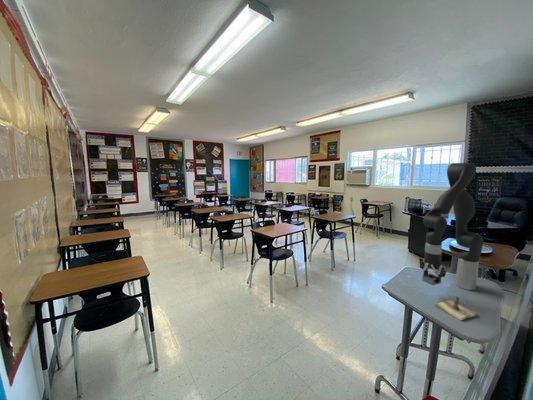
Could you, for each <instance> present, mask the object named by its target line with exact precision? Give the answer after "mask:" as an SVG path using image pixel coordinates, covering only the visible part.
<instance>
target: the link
mask: <svg viewBox="0 0 533 400" xmlns="http://www.w3.org/2000/svg"><path fill="white" fill-rule="evenodd" d="M421 279H422V282H425V283H427V284H429V285H431V286H436V285H439V284H442V280H441V281H440V282H439V283H436V274H433V273H428V274H426V275H423V274H422V278H421Z"/></svg>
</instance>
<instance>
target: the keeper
mask: <svg viewBox="0 0 533 400" xmlns="http://www.w3.org/2000/svg"><path fill="white" fill-rule="evenodd" d="M459 301H460V297H459V296H455V295H454V299H449V300H448V299H447V300H445V301H442V302H437V303H435V307H436V308H438V309H440V310H442V311H443V312H445V313H446V314H449V316H452V317H454V318H455V319H458V320H460V321H463V320H466V319H470V318H473V317H477V316H478V312H476V311H474V310H472V309H470V308H468V307H466V306H464V305H462V304H460V303H459Z"/></svg>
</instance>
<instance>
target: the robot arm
mask: <svg viewBox="0 0 533 400" xmlns="http://www.w3.org/2000/svg"><path fill="white" fill-rule="evenodd" d="M476 173H477V167H476V165H475V164H474V163H473V162H459V163H458V162H454V163H450V164H449V165H448V166H447V169H446V175H447V180H448V184H449V187H450V188H447V190H446V191H444V192H443V193H442V194H441V195H440V196H439V197H438V199H437V201H436V203H435V204H434V206H433V207H432V208H431V209H430V210H429V211H428V212H427V213H426V214H425V215H424V217H423V219H422V224H423V225H424V226H425V227H426V228H430V229H434V231H429V232H426V235H425V244H424V257H421V258H419V259H418V260H419V268H420V269H421V270H422V271H423V273H422V276H423V275H426V274H429V270H430V269H431V270H432V272H433V273H434V275H435V276H436V283H439V282H440V281H441V282H442V278H444V277H446V273H447V269H448V267H447V266H444V265H442V257H443V256H442V255H443V245H442V244H443V236H444V234H445V230H446V229H447V226H448V221H447V219H446V218H445V217H443V216H444V215H448V214H449V213H450V212H451V210H452V208H453V212H454V213H453V214H454V221H455V239H456V241H455V242H456V244H457V245H459V247H463V248H466V249H468V251H460V252H459V253H458V255H457V264H456V266H457V267H456V275H455V285H456V286H457V287H458V288H460V289H463V290H467V291H475V290H476V289H477V288H478V287H477V286H478V277H479V266H480V264H479V263H480V258H481V256H482V255H481V254H482V250H483V245H484V237H483V236H482V235H481V234H479V233H476V232H470V231H468V227H467V226H468V223H469V222H470V221H471V220H472V218H473V217H474V215H475V214H476V202H475V200H474V198H473V196H471V194H470V193H469V192H468V191H467V190H466V188H467V186H468V185H469V184H470V183H471V181H472V180H473V179H474V177H475V176H476ZM442 215H443V216H442Z"/></svg>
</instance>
